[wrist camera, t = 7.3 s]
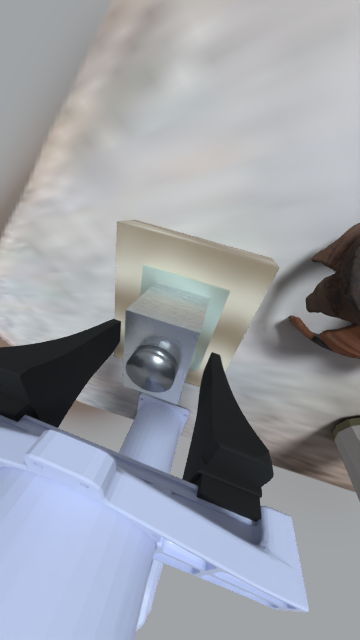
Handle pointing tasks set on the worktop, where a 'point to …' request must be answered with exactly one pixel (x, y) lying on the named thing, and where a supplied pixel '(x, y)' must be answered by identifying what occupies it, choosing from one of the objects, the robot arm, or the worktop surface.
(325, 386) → the worktop surface
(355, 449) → the bottle
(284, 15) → the worktop surface
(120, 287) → the stand
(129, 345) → the block
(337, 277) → the broken clay pot shard
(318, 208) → the worktop surface
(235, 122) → the worktop surface
